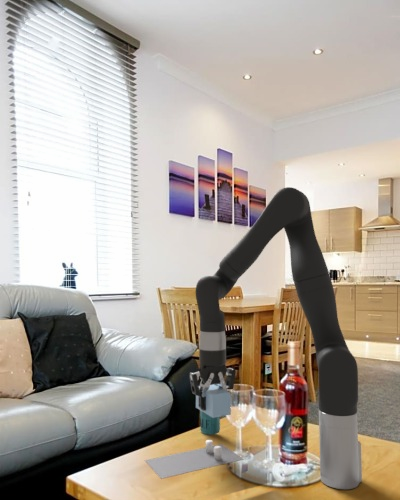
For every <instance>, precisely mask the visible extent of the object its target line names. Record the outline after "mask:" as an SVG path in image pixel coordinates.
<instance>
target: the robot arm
mask: <svg viewBox="0 0 400 500" xmlns="http://www.w3.org/2000/svg"><path fill="white" fill-rule="evenodd" d="M283 229H284V232H285V234H286V237H287V240H288V244H289V251H290V253H289V254H290V266H291V267H290V268H291V269H290V270H291V276H292V280H293V282H294V287H295V291H296V293H297V298H298V300H299V302H300V306H301V308H302V311H303V314H304V315H305V318H306V320H307V323H308V324H309V327H310V331H311V335H312V339H313V343H314V348H315V349H314V350H315V356H316V357H315V358H316V365H317V368H318V369H317V370H318V435H319V436H318V438H319V439H318V440H319V473H320V476H319V477H320V481H321V482H322V484H324V485H325V486H327V487H330V488H333V489H338V490H352V489H355V488H358V486H359V485H360V483H362V482H363V470H362V469H363V467H362V466H363V465H362V463H363V462H362V443H361V441H359V436H358V435H359V431H358V402H359V372H358V371H359V369H358V363H357V360H356V358H355V356H354V355H353V354H352V353H351V351H350V349H349V347H348V345H347V343H346V342H347V341H346V340H345V338H344V334H343V332H342V330H341V326H340V323H339V318H338V308H337V301H336V295H335V294H336V293H335V291H334V286H333V282H332V279H331V276H330V272H329V268H328V266H327V263H326V260H325V258H324V255H323V252H322V249H321V246H320V245H319V242H318V239H317V236H316V232H315V229H314V222H313V217H312V211H311V205H310V200H309V198H308V197H307V196H306V194H305V193H303V192H302V191H300V190H299V189H297V188H294V187H282V188H281V189H279V190H278V191H276V192H275V193H274V194H273V196H272V198H271V199H270V200H269V202H268V204H267V205H266V206H265V208H264V209H263V211H262V212H261V214H260V216H258V218H257V219H256V221H255V222H254V223H253V225H252V226H251V227H250V229H248V231H247V232H246V233H245V234H244V236H243V235H242V237H241V238H240V239H239V240H238V242H236V244H234V246H233V247H232V248H231V249H230V251H228V252H227V253H226V255H225V256H224V257H222V259H221V260H220V262H219V265H218V266H219V267H218V269H217V271H216V272H215V273H214V274H213V275H205V276H203V277H201V278H200V279H199V280H198V281H197V283H196V286H195V299H196V303H197V304H196V305H197V308H198V309H197V310H198V312H199V338H198V350H199V351H198V353H199V354H198V356H199V357H198V359H199V362H198V363H199V368H198V370H197V371H195V372H189V374H188V377H189V382H190V388H191V392H192V394H193V395H195V396H196V395H197V396H198V397H199V408H200V409H201V410H203V411H205V410H206V397H205V395H206V391H207V390H208V389H209V387H210V385H213V384H217V385H218V387H220V388H222V389H225V390H227V389H233V390H234V385H235V380H236V379H235V378H236V372H237V371H236V369H234V368H232V367H228V368H227V367H226V364H227V338H226V337H227V336H226V331H225V330H226V324H225V323H226V320H225V319H226V317H225V313H224V311H223V310H221V307H220V300H222V299H223V298H225V297H227V295H228V294H229V293H230V292H231V290H233V288H234V286H235V284H237V282H238V280H239V279H240V278H241V277H242V276H243V275H244V274H245V273H246V272H247V270H248V269H250V267H251V266H253V264H254V263H255V262H256V261H257V260H258V258H259V257H260V255H261V254H262V253H263V251H264V250H265V248H266V247H267V245H268V244H269V242H271V240H272V239H273V238H274V237H275V236H276V235H277V234H278V233H279V232H280V231H282V230H283ZM225 376H226V380H225ZM200 378H201V380H200V382H199V379H200ZM205 383H206V384H205ZM199 386H200V388H199Z"/></svg>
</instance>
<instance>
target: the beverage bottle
mask: <svg viewBox="0 0 400 500" xmlns="http://www.w3.org/2000/svg"><path fill="white" fill-rule="evenodd" d="M205 384H206V383H205ZM214 385H216V386H218V385H217V384H214ZM199 413H200V416H199V417H200V418H199V426H200V432H201V433H202V434H204V435H216V434H218V433H220V430H221V416H220V417H215V418H212V417H210V416H209V415H207V414H206V413H204V412H202V411H201V410H199Z"/></svg>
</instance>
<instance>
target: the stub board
mask: <svg viewBox="0 0 400 500" xmlns="http://www.w3.org/2000/svg"><path fill="white" fill-rule="evenodd" d="M213 443H214V441H213V440H212V439H206V440H205V447H201V448H197V449H192V450H187V451H182V452H178V453H173V454H169V455H163V456H159V457H154V458H149V459H145V460H144V462H145V463H146V464H147V465H148V466H149V467H150V468H151V469H152V470H153V471H154V473H155V474H156V475H157V476H158V477H159V478H160V479H161V480H162V479H166V478H167V479H168V478H170V477H175V476H179V475H184V474H189V473H191V472H196V471H199V470H200V471H201V470H203V469H204V470H205V469H208V468H212V467H218V466H221V465H226V464H229V463H234V462H239V461H243V460H244V458H242V457H241V456H240V455H238V454H237V453H236V452H234V451H233V450H231V449H229V448H228V447H227V446H225V445H224V444H222V443H220V444H216V445H215V444H213Z"/></svg>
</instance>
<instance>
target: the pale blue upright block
mask: <svg viewBox="0 0 400 500" xmlns="http://www.w3.org/2000/svg"><path fill="white" fill-rule="evenodd" d="M198 386H199V388H200V385H198ZM205 397H206V410H205V411H203V410H201V409H200V408H199V397H198V396H197V395H195V409H198V410H199V411H200V410H201V411H202V412H204V413H206V414H207V415H209V416H210V417H212V418H215V417H220V418H221V417H225V416H230V415H231V414H232V413H231V410H232V409H231V408H232V406H231V405H232V404H231V403H232V401H231V400H232V399H231V397H232V394H231V391H227V390H225V389H222V388H220V387H218V386H216V385H214V384H213V385H210V387H209V389H208V390H207V391H206V395H205ZM230 407H231V408H230Z"/></svg>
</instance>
